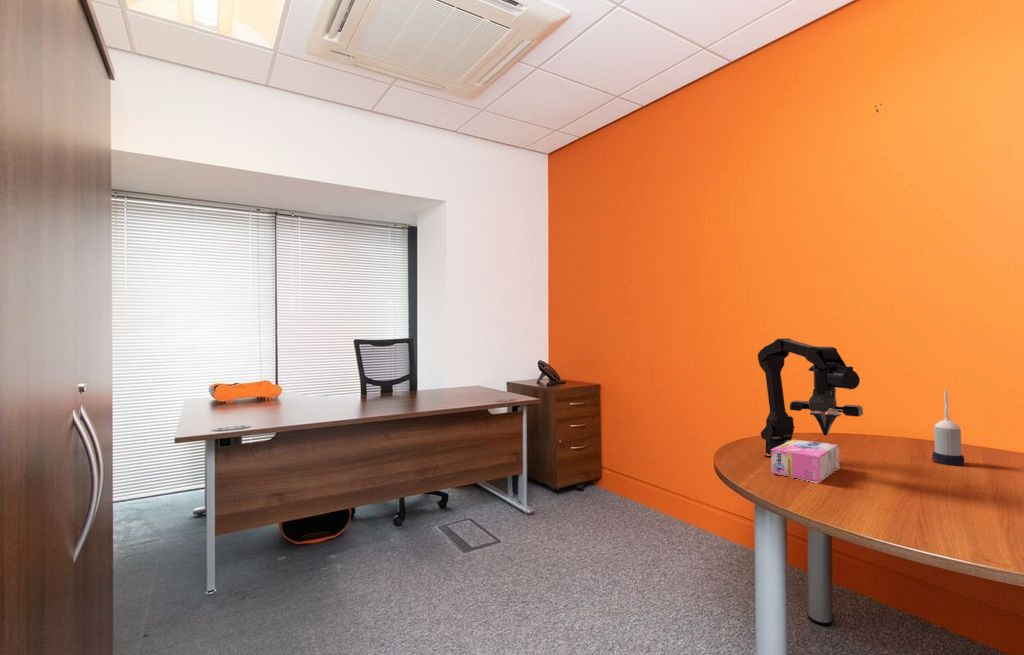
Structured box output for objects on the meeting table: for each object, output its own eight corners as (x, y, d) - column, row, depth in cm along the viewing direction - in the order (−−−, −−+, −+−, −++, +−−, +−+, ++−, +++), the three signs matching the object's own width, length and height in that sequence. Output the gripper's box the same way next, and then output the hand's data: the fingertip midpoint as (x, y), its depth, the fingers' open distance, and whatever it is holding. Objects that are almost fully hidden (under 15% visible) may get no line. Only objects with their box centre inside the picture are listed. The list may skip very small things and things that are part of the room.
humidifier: (927, 461, 164) (925, 389, 164) (939, 458, 167) (937, 388, 168) (957, 467, 157) (955, 392, 157) (969, 464, 160) (967, 391, 161)
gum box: (841, 467, 156) (795, 459, 166) (840, 443, 156) (794, 437, 166) (820, 482, 139) (770, 473, 149) (819, 456, 140) (770, 448, 150)
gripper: (783, 385, 151) (784, 434, 151) (853, 390, 137) (854, 444, 137) (795, 383, 158) (796, 429, 158) (862, 387, 144) (864, 438, 144)
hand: (825, 435), depth 149 cm, fingers closed
